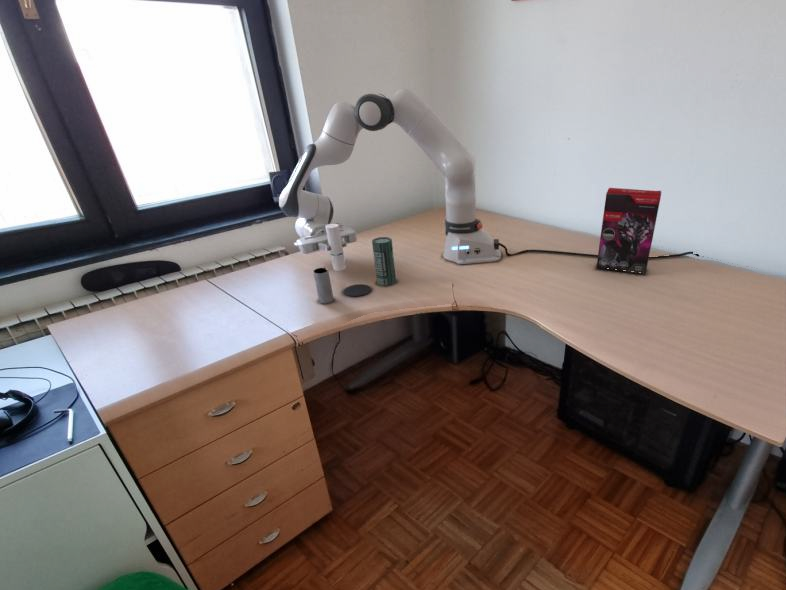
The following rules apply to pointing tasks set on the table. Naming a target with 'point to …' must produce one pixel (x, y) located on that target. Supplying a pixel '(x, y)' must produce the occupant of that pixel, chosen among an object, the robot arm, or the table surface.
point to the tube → (335, 246)
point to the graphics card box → (627, 229)
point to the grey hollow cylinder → (323, 285)
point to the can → (384, 261)
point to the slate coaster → (357, 290)
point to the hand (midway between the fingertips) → (336, 246)
